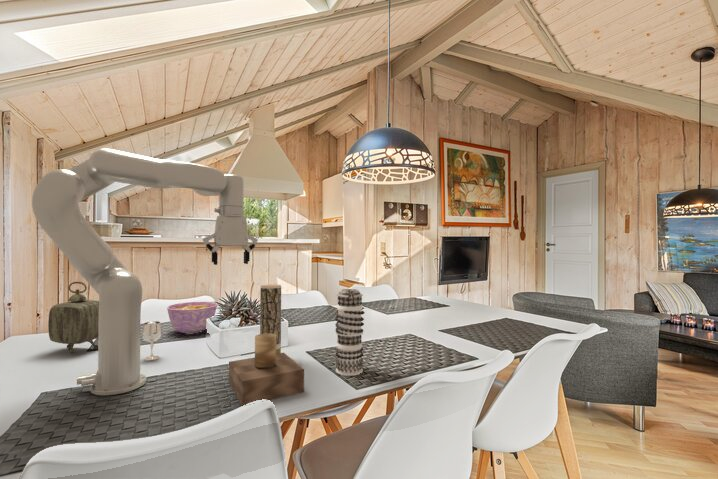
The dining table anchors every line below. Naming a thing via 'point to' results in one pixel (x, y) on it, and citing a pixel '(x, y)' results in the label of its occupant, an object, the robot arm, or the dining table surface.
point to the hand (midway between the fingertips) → (230, 264)
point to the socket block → (265, 379)
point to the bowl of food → (191, 316)
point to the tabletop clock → (74, 320)
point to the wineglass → (151, 335)
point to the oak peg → (265, 351)
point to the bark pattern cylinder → (271, 312)
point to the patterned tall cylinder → (349, 332)
